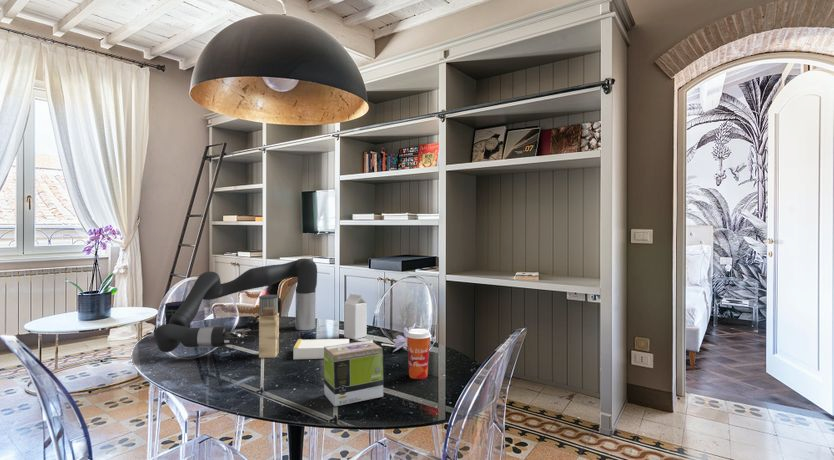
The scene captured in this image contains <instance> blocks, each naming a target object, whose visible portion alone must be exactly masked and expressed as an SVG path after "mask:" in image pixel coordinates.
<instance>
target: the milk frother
mask: <svg viewBox="0 0 834 460" xmlns="http://www.w3.org/2000/svg"><path fill="white" fill-rule="evenodd" d="M258 298H259V299H258V301H259V302H258V304H259V313H258V314H259V315H256V316H252V317H251V318H250V319H249V320H248V324H249V325H259V321H258V320H259V316H260V315H261V314H263V308H265V307H276V313H279V319H280V318H281V317H282V299H281V298H280V297H279V295H278V294H263V295H259V296H258Z"/></svg>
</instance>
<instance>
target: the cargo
mask: <svg viewBox="0 0 834 460" xmlns="http://www.w3.org/2000/svg"><path fill="white" fill-rule="evenodd" d="M275 315H276V307H265V308H263V314H262V316H275Z"/></svg>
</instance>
